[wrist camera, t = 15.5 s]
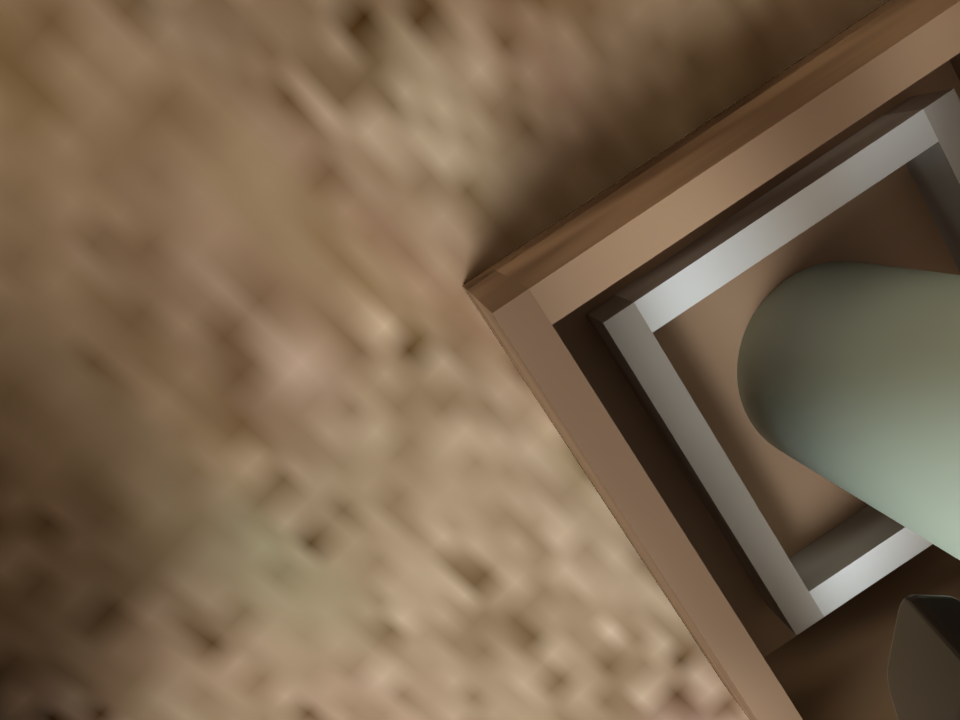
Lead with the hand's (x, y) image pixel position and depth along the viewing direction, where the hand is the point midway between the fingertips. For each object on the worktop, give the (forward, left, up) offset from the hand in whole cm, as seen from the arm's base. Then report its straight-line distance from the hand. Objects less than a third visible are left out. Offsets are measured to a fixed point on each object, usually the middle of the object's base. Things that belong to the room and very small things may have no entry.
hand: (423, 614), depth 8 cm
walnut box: (+9, -6, -12) cm, 16 cm away
